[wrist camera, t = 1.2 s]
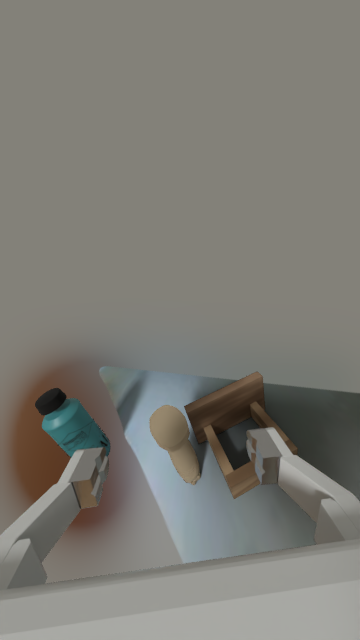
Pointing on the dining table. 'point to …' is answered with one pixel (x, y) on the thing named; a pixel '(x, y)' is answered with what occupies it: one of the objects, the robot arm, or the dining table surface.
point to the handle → (175, 441)
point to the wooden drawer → (227, 412)
